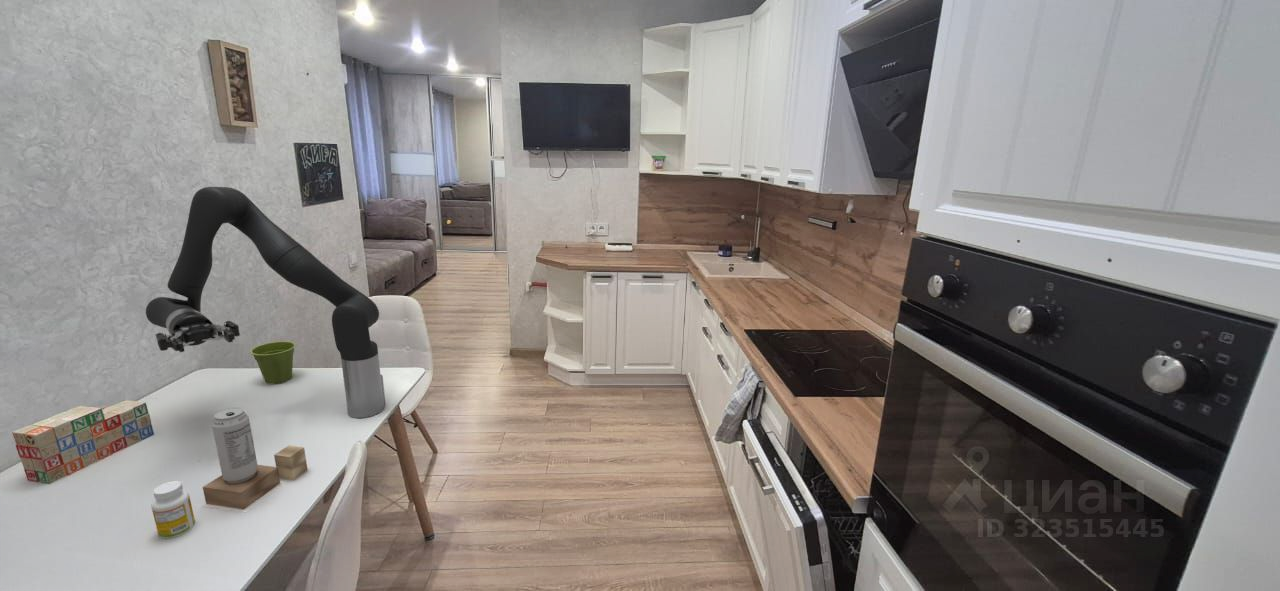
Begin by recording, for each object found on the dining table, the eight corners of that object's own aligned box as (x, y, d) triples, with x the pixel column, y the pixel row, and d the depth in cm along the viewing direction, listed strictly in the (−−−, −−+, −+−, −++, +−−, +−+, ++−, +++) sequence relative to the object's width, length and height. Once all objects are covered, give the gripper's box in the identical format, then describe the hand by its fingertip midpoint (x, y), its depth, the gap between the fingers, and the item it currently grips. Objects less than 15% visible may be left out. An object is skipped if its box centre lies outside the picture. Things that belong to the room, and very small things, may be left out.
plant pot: (248, 382, 162) (242, 348, 159) (289, 369, 172) (284, 338, 169) (266, 391, 156) (260, 357, 153) (307, 378, 166) (303, 346, 163)
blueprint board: (266, 465, 120) (265, 464, 120) (307, 471, 118) (307, 469, 118) (199, 510, 105) (199, 508, 104) (246, 517, 103) (245, 515, 103)
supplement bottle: (173, 521, 101) (163, 478, 99) (202, 520, 102) (193, 478, 99) (151, 540, 96) (139, 496, 94) (181, 539, 97) (171, 495, 94)
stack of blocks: (134, 432, 132) (123, 388, 129) (154, 434, 131) (144, 391, 128) (26, 481, 112) (10, 431, 109) (49, 485, 111) (34, 434, 108)
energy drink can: (250, 465, 113) (239, 403, 109) (264, 474, 110) (252, 411, 106) (218, 478, 108) (204, 414, 104) (231, 488, 105) (218, 423, 101)
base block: (244, 478, 115) (242, 462, 113) (280, 483, 113) (277, 467, 112) (206, 503, 106) (202, 487, 105) (243, 509, 105) (240, 492, 104)
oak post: (292, 468, 119) (288, 445, 117) (307, 470, 118) (304, 447, 117) (278, 478, 115) (274, 454, 113) (293, 480, 114) (289, 457, 113)
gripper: (145, 317, 117) (160, 334, 107) (223, 305, 128) (242, 319, 118) (152, 348, 119) (167, 367, 109) (228, 334, 130) (248, 350, 120)
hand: (206, 342), depth 114 cm, fingers open, 8 cm apart
